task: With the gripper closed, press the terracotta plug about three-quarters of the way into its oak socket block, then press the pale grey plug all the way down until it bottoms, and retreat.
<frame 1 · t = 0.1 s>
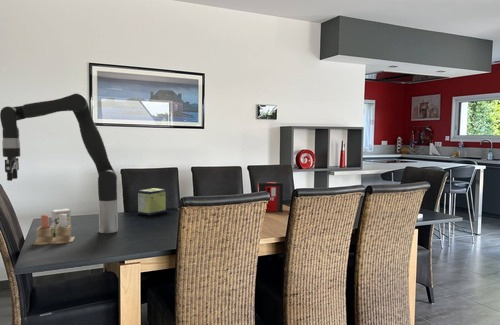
hand: (12, 179, 196), 29 cm above the table, tool pointing down, fingers open, 8 cm apart
ink box: (61, 231, 210), on the table
cleaning product box: (269, 211, 272), on the table
grey plug: (63, 223, 191), point 9 cm above the table, slide at 0.0 cm
socket block: (54, 241, 191), on the table
protein box: (152, 213, 262), on the table
terracotta plug: (44, 224, 189), point 9 cm above the table, slide at 0.0 cm
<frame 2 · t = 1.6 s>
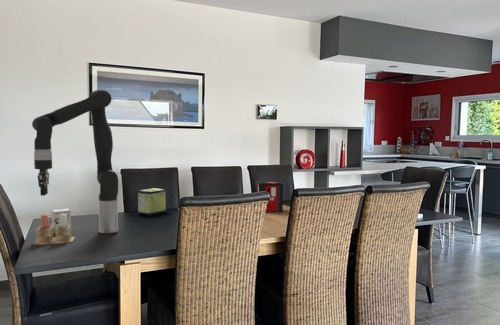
hand: (44, 194, 188), 23 cm above the table, tool pointing down, fingers open, 3 cm apart
nothing on the table moved.
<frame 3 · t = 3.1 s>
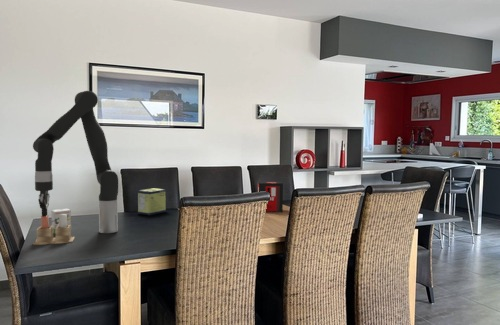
hand: (44, 216, 189), 13 cm above the table, tool pointing down, fingers closed
terracotta plug: (45, 224, 189), point 8 cm above the table, slide at 0.3 cm, touching gripper
everything else where it was.
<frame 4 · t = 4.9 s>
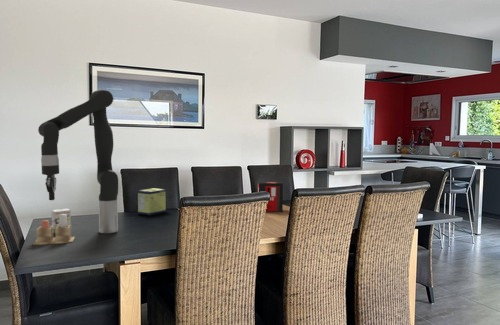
hand: (52, 199, 189), 20 cm above the table, tool pointing down, fingers closed
terracotta plug: (45, 229, 189), point 6 cm above the table, slide at 2.7 cm
everything else where it was.
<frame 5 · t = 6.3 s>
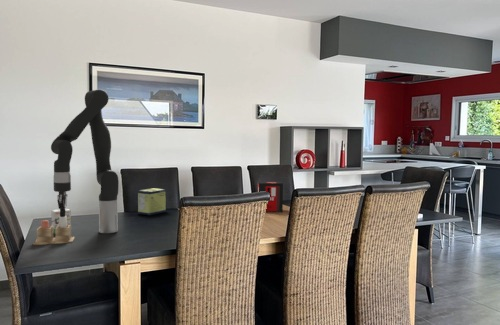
hand: (62, 216, 191), 12 cm above the table, tool pointing down, fingers closed
grey plug: (63, 225, 191), point 8 cm above the table, slide at 0.9 cm, touching gripper
everything else where it was.
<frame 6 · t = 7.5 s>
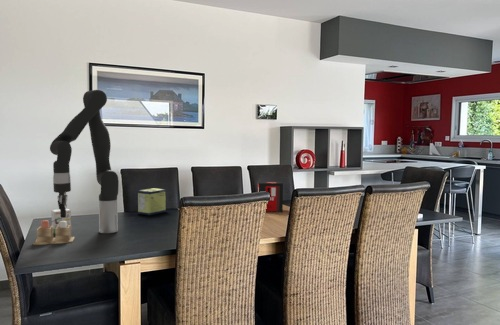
hand: (63, 217, 191), 12 cm above the table, tool pointing down, fingers closed
grey plug: (63, 230, 191), point 5 cm above the table, slide at 3.4 cm
everything else where it was.
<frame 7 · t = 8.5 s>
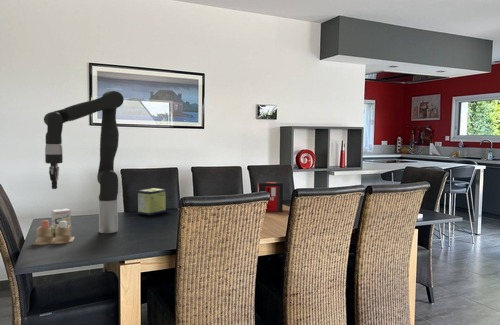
hand: (54, 188, 192), 25 cm above the table, tool pointing down, fingers closed
nothing on the table moved.
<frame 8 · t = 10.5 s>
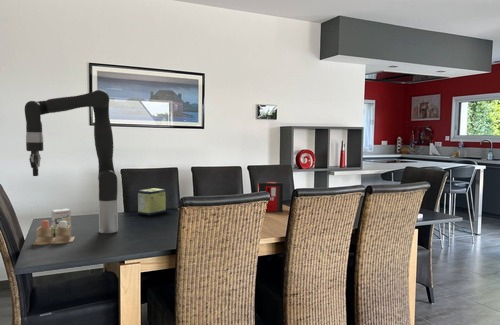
hand: (35, 175, 197), 31 cm above the table, tool pointing down, fingers closed
nothing on the table moved.
at the end: terracotta plug slide at 2.7 cm; grey plug slide at 3.4 cm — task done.
